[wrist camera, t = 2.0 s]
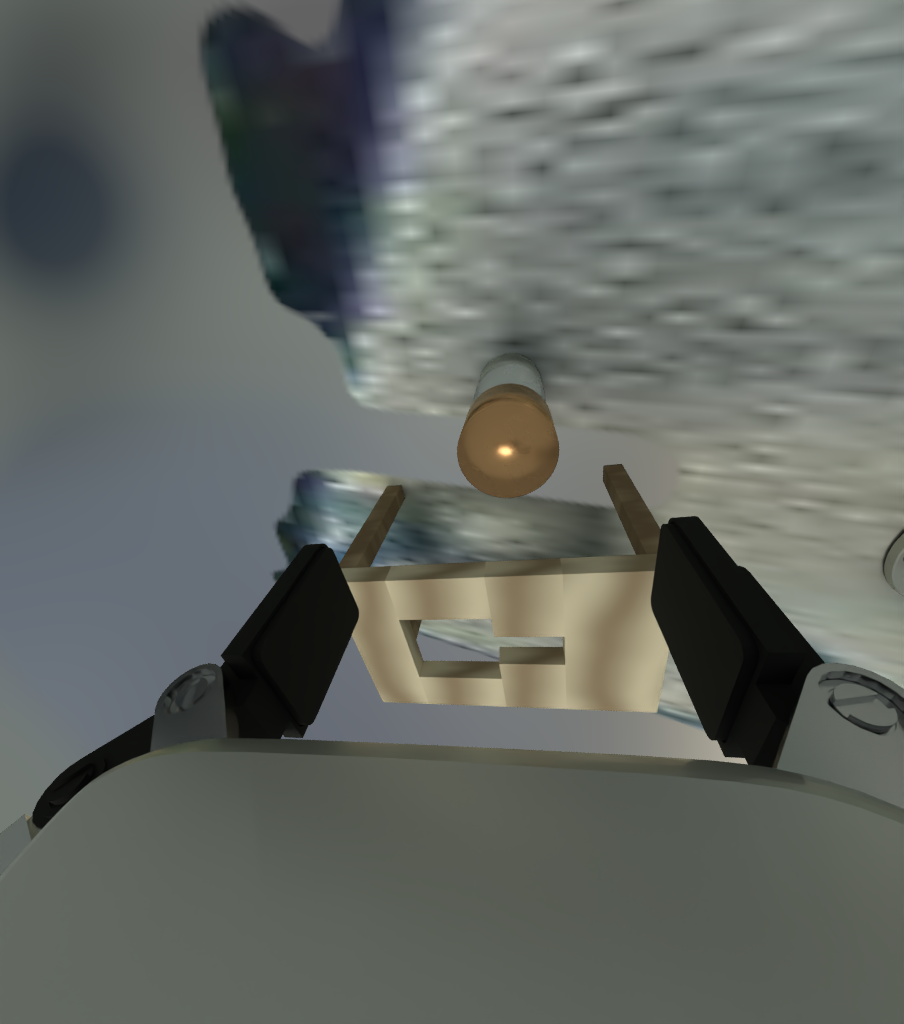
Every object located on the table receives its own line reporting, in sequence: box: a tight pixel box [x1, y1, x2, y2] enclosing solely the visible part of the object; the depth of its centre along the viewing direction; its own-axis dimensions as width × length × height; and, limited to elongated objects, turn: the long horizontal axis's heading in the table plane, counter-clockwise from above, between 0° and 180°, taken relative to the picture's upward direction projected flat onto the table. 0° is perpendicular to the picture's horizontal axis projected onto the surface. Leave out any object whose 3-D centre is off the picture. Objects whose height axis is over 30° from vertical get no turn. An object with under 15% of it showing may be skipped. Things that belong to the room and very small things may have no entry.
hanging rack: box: [339, 464, 669, 712], centre depth 32 cm, size 22×14×14 cm, turn 101°
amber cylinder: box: [457, 353, 559, 498], centre depth 24 cm, size 5×5×14 cm
